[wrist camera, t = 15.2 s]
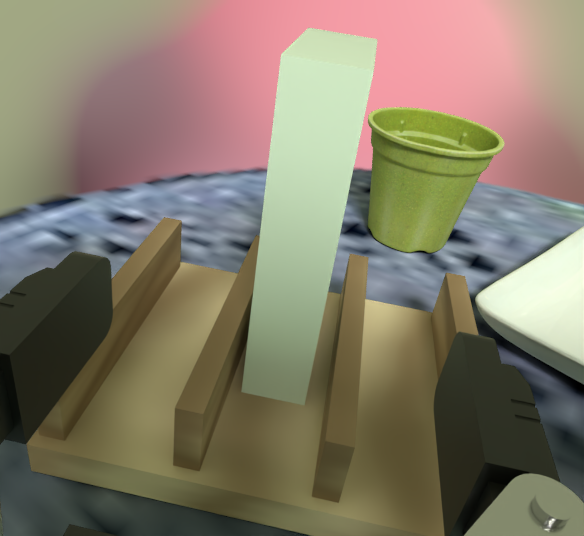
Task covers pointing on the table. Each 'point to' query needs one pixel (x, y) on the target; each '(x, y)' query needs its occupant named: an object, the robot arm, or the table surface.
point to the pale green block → (304, 205)
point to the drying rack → (258, 403)
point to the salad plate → (543, 306)
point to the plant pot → (423, 174)
